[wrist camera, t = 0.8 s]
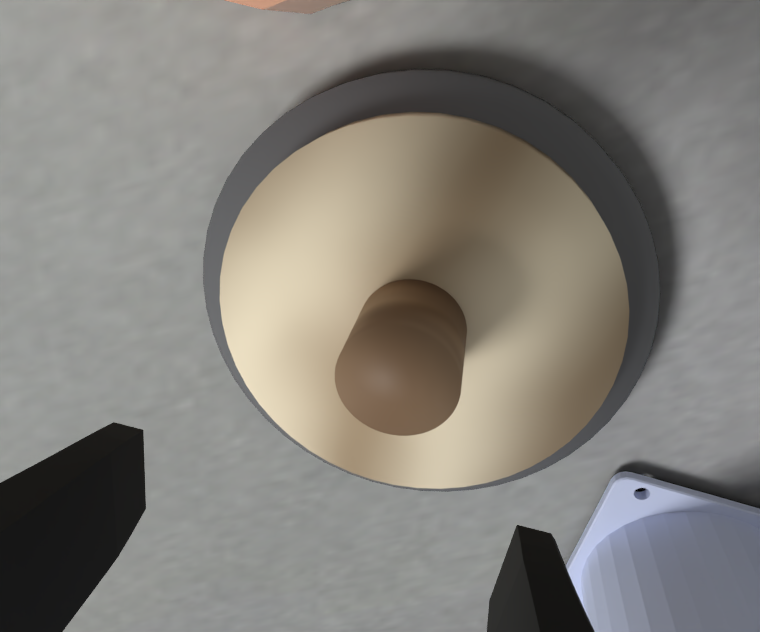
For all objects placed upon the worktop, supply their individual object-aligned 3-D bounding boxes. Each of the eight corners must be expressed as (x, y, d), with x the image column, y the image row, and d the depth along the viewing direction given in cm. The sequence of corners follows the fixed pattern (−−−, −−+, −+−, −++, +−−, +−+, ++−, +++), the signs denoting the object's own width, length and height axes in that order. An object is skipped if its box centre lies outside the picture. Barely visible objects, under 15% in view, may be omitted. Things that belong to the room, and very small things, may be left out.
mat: (740, 138, 15) (755, 145, 15) (557, 516, 22) (559, 536, 21) (236, 15, 16) (222, 14, 16) (202, 412, 23) (190, 428, 22)
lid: (697, 174, 15) (757, 218, 12) (541, 508, 21) (550, 607, 17) (254, 64, 16) (184, 73, 12) (218, 414, 21) (162, 490, 18)
